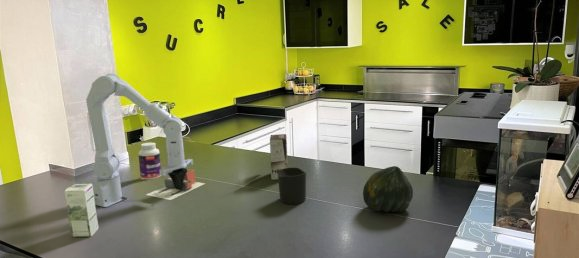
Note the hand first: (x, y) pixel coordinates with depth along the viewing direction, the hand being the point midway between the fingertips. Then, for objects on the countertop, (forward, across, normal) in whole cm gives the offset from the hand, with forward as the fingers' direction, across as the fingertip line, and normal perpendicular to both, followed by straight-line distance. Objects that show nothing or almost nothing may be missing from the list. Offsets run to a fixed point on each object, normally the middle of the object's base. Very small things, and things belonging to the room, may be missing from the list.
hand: (179, 189), depth 154 cm
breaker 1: (+1, +3, +6) cm, 7 cm away
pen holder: (+2, +13, -40) cm, 42 cm away
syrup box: (+2, -35, +4) cm, 36 cm away
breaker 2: (+1, +3, 0) cm, 3 cm away
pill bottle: (+2, +9, +24) cm, 25 cm away
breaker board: (+2, +2, +3) cm, 4 cm away
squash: (+2, +19, -70) cm, 73 cm away
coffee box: (+2, +33, -22) cm, 40 cm away
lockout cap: (+1, +8, +3) cm, 8 cm away
